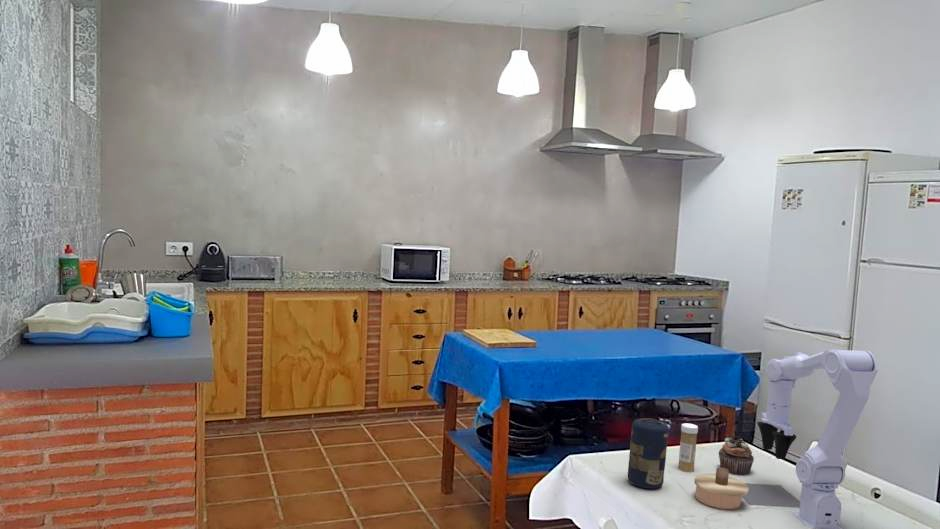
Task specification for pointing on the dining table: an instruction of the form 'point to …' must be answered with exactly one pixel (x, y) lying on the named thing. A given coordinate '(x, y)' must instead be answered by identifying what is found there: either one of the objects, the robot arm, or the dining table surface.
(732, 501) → the bowl
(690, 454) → the sprinkles bottle
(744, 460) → the cupcake
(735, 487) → the lid
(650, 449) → the navy canister
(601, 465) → the dining table surface
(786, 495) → the mat
